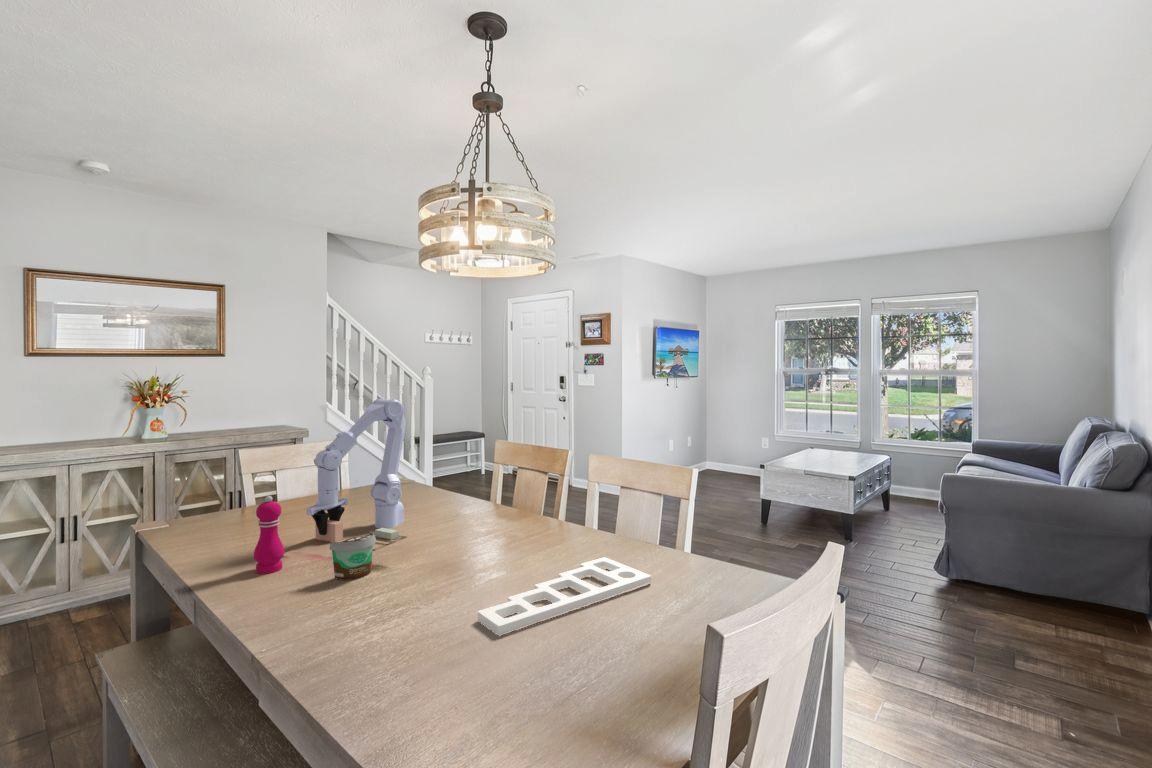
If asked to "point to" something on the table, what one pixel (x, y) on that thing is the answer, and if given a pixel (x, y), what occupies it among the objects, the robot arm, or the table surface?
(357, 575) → the food container
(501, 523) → the table surface
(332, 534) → the pink rectangular prism
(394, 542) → the rack
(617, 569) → the holder
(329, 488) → the robot arm
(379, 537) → the lower offcut
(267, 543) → the pepper mill
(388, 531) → the upper offcut
